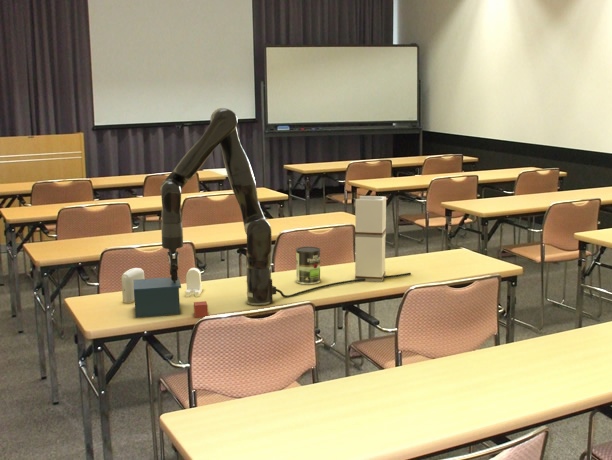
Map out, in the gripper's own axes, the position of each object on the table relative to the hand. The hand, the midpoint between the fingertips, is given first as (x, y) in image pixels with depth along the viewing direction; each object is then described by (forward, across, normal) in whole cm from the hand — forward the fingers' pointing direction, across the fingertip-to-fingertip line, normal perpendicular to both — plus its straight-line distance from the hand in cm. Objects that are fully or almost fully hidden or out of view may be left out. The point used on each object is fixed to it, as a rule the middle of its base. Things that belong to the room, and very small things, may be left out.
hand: (173, 277), depth 279 cm
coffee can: (+12, +25, -57) cm, 63 cm away
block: (+12, -10, -9) cm, 18 cm away
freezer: (+12, 0, +6) cm, 14 cm away
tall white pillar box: (+12, +23, -84) cm, 87 cm away
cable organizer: (+12, +20, -9) cm, 25 cm away
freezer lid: (+2, 0, +6) cm, 7 cm away
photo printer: (+12, +17, +14) cm, 26 cm away
